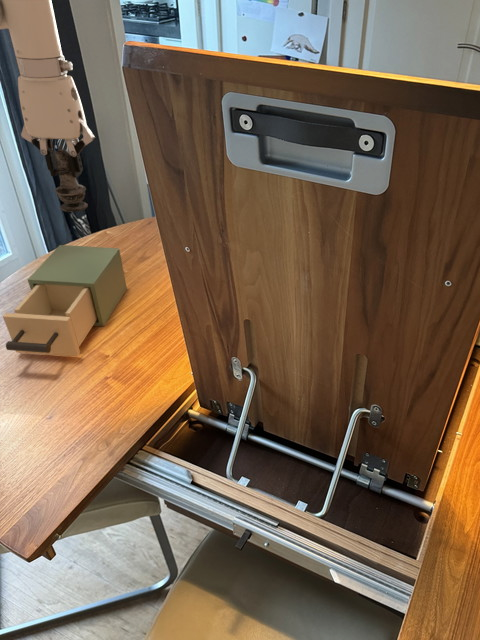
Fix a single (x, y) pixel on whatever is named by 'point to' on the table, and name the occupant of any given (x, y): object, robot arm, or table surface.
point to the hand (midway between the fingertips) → (66, 173)
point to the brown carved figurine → (68, 184)
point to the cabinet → (86, 275)
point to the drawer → (51, 320)
